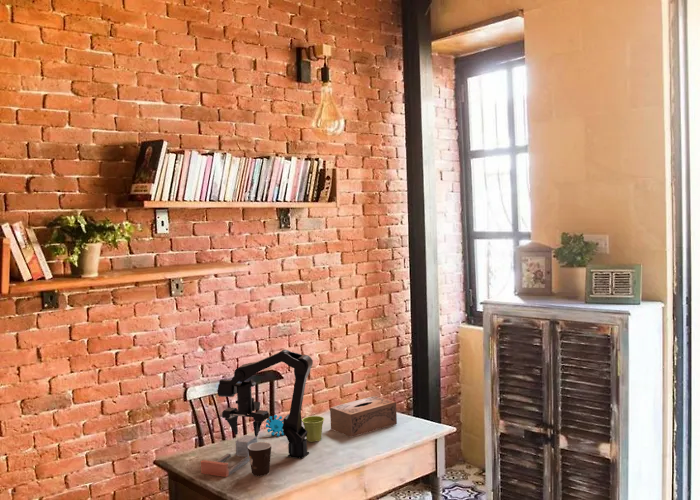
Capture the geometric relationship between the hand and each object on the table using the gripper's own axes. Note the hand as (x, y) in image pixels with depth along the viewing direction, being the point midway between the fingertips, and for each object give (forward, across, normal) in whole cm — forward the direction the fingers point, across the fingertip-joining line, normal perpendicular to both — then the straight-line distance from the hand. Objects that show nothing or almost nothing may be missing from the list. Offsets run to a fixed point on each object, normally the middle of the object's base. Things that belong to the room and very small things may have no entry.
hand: (246, 435), depth 262 cm
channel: (+7, 0, +14) cm, 15 cm away
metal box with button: (+7, 0, 0) cm, 7 cm away
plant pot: (+8, -19, -22) cm, 30 cm away
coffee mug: (+7, -16, +17) cm, 25 cm away
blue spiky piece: (+8, -1, -24) cm, 25 cm away
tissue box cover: (+8, -33, -44) cm, 55 cm away
